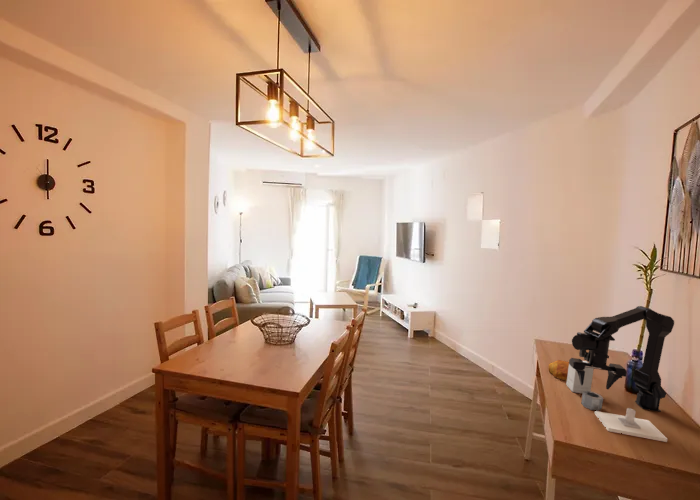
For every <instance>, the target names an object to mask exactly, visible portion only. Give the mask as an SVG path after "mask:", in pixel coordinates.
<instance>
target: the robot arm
mask: <svg viewBox="0 0 700 500" xmlns="http://www.w3.org/2000/svg"><path fill="white" fill-rule="evenodd" d="M642 320H644V321H645V327H646V329H647V332H648V337H647V342H646V347H645V352H644V357H643V361H642V366H641V367H640V368H638V369H634V373H633V377H632V379H633V382H634V385H635V388H636V389H638V392H637V393H636V399H635V401H634V403H636V404H637V406H639V407H640V408H641V409H643V410H648V411H653V412H657V413H658V412H659V413H660V412H662V410H661V409H660V404H661V403H660V402H661V400H662V399H665V397H666V395H667V392H666V391H665V389H664V388H663V386H662V378H661V375H660V373H659V367H660V362H661V357H662V352H663V348H664V343H665V339H666V337H667V336H668V335H670V334H671V333H672V331H673V328H674V327H675V326H674V325H675V320H674V318H672V317H671V316H669V315H665V314H662V313H659V312H657V311H655V310H652V309H651V308H649V307H647V306H646V307H645V306H642V305H639V306H636V307H635V308H632V309H630V310H626V311H624V312H621V313H618V314H616V315H613V316H598V317H595V318H593V319H592V320H591V322H590V323H589V325H588V326H587V327H586V328H585V329H584V330H583V332H579V331H578V332H577V333H576V335H574V336H572V338H571V344H572V346H573V348H574V349H575V350H577V351H578V353H579V355H578V356H579V358H575V357H571V358H570V359H569V361H568V362H569V364H570V365H571V366H572V368H574V369H575V370H576V371H577V373H578V376H579V380H580V384H581V385H583V383H584V376H585V371H584V370H583V369H585V367H587V368H593V369H595V370H601V371H607V379H606V386H605V389H606V390H609V389H610V388H611V387H612V386H613V385H614V383H616V382H617V381H618V380H619V379H622V378H623V377H624V378H625V377H627V374H628V373H627V371H628V370H627V369H626V368H625V367H623V366H622V365H621V364H617V363H609V365H608V364H607V362H608V359H610V355H609V347H610V342H611V341H613V342H614V341H616V339H615V338H614V337H613V336H612V335H614V334H617V332H618V331H619V330H620V329H621V328H623V327H626V326H628V325H631V324H634V323H637V322H640V321H642ZM581 358H583V360H582V359H581ZM583 361H587V362H588V363H586V362H583Z"/></svg>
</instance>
